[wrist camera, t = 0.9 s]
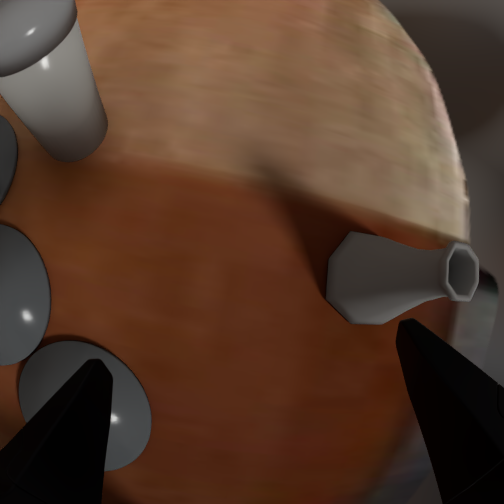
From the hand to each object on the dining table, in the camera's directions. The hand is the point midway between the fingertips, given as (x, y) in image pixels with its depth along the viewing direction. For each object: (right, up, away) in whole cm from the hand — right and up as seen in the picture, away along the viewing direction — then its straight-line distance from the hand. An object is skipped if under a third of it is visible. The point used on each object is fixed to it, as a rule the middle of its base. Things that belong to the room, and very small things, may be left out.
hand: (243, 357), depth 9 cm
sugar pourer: (-13, +12, +11) cm, 21 cm away
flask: (+9, +1, +15) cm, 18 cm away
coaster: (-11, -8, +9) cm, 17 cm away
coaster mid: (-18, 0, +8) cm, 20 cm away
